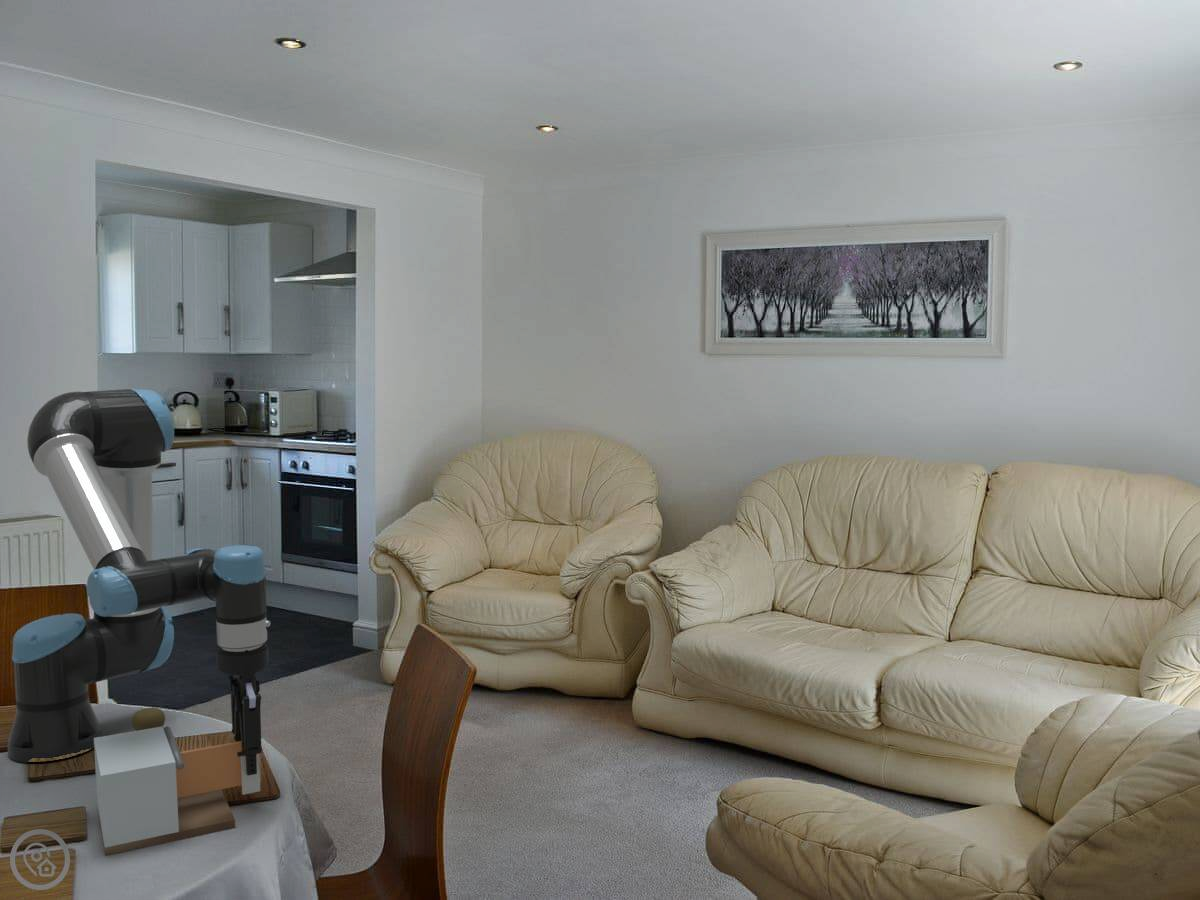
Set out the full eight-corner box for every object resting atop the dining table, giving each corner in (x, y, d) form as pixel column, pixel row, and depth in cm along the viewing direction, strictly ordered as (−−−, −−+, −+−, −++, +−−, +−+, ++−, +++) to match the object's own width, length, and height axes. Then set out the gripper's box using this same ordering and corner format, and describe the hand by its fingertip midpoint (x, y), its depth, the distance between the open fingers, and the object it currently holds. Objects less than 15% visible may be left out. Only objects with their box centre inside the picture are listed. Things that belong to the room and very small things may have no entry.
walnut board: (97, 811, 166) (97, 804, 165) (217, 787, 174) (217, 780, 174) (105, 855, 152) (104, 847, 152) (235, 827, 160) (234, 819, 160)
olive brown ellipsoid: (156, 780, 177) (153, 717, 176) (124, 777, 178) (120, 715, 177) (177, 766, 183) (174, 705, 181) (146, 763, 184) (143, 702, 183)
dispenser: (97, 804, 165) (93, 738, 164) (173, 789, 171) (170, 725, 170) (104, 847, 152) (100, 775, 150) (187, 830, 157) (184, 760, 156)
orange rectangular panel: (153, 800, 162) (151, 756, 161) (260, 779, 170) (258, 737, 169) (154, 802, 161) (152, 758, 161) (261, 781, 169) (259, 739, 168)
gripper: (278, 655, 160) (283, 802, 163) (256, 628, 175) (261, 763, 178) (227, 663, 157) (233, 812, 159) (209, 634, 172) (215, 771, 174)
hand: (248, 786), depth 169 cm, fingers open, 4 cm apart
